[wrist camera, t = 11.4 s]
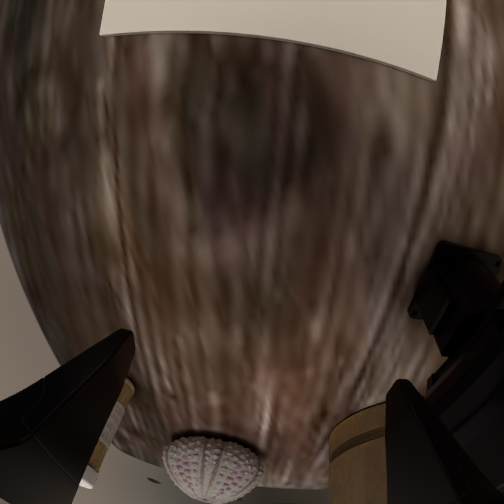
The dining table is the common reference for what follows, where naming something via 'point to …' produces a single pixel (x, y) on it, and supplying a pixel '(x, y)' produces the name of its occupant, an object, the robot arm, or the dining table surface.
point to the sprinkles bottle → (107, 436)
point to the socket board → (301, 25)
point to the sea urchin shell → (212, 468)
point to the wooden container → (359, 459)
